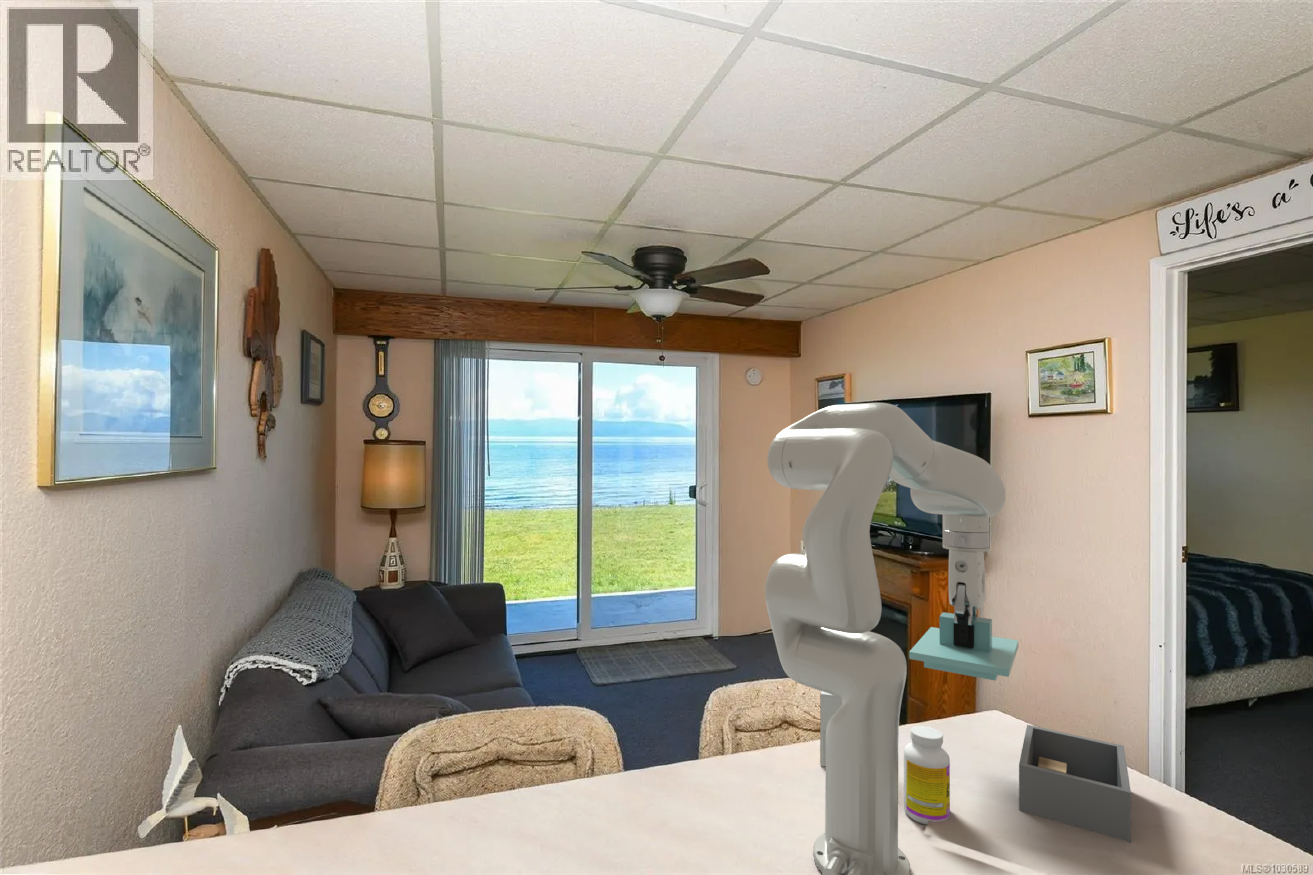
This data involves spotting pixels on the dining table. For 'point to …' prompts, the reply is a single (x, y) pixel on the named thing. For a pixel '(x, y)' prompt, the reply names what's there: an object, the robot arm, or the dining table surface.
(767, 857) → the dining table surface
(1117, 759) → the tub
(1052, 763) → the pine block
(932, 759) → the supplement bottle
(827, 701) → the small box
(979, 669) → the lid
